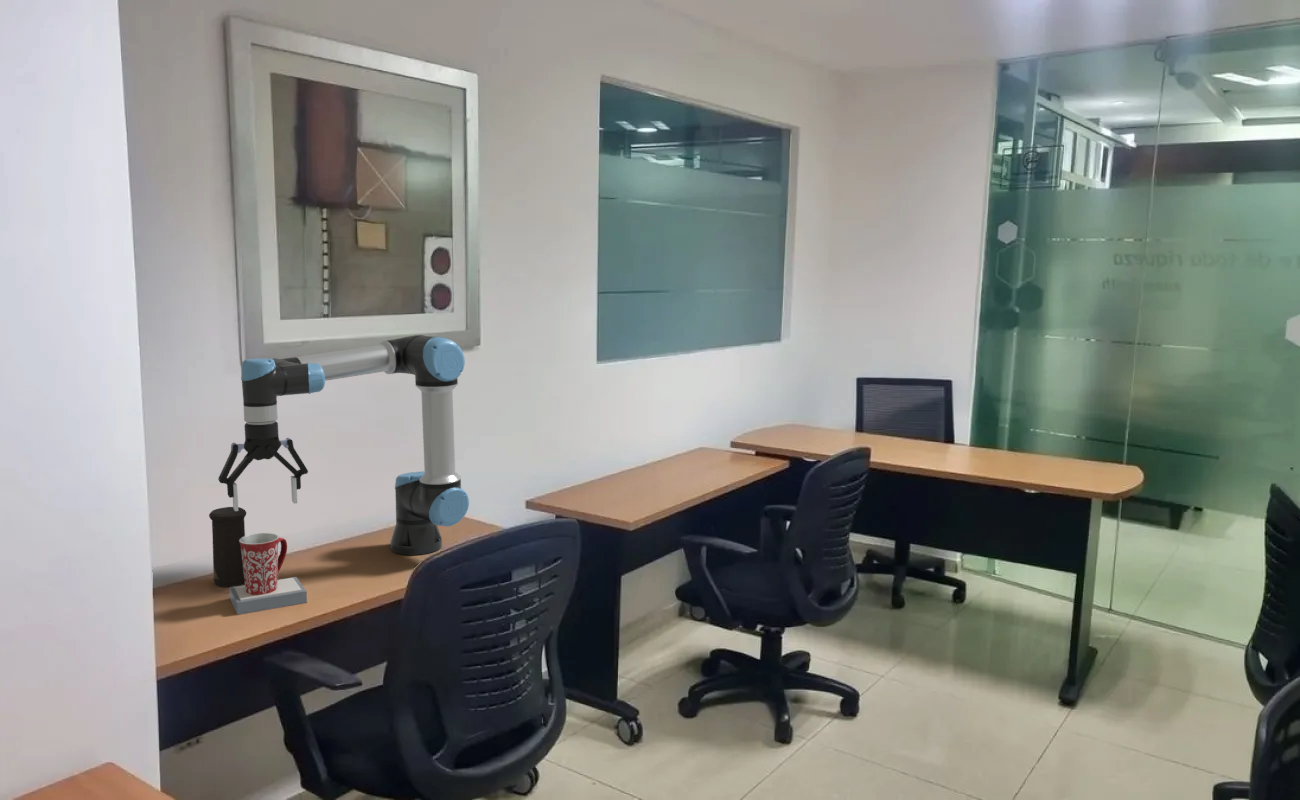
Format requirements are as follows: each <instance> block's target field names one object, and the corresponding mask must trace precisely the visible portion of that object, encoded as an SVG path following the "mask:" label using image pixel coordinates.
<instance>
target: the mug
mask: <svg viewBox="0 0 1300 800" xmlns="http://www.w3.org/2000/svg"><path fill="white" fill-rule="evenodd" d="M239 542H240V546H241V554H242V562H243V571H244V580H245V583H244V585H245V589H246V592H247V593H248V594H251V595H262V594H267V593H271V592H273V591H275V590H276V589H277V580H278V573H280V570H281V569H282V566H283V563H284V562H285V559H286V556H287V551H288V543H287V540H286V539H285V538H284V537H280V536H279V535H278V534H276V533H271V532H257V533H252V534H247V535H245V536H244V537H242V538H241V539H240V540H239ZM279 543H280V552H279Z"/></svg>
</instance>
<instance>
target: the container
mask: <svg viewBox="0 0 1300 800" xmlns="http://www.w3.org/2000/svg"><path fill="white" fill-rule="evenodd" d="M246 515H247V511H246V510H245V509H244V508H242V507H240V506H238V511H235V510H234V509H233V506H226V507H225V506H224V507H220V508H215V509H213V510H212V511H211V512H210V513H209V514H208V516H209V519H210V520H211V532H212V564H213V565H212V566H213V569H212V570H213V584H214V585H215V586H217V587H222V588H224V587H226V588H228V587H235V586H241V585H244V584H245V580H244V571H243V562H242V554H241V546H240V542H239V540H240V539H241V538H242V537H244V536H246V527H245V517H246Z"/></svg>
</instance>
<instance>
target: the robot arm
mask: <svg viewBox="0 0 1300 800" xmlns="http://www.w3.org/2000/svg"><path fill="white" fill-rule="evenodd" d="M465 359H466V358H465V355H464V352H463V350H462V348H461V347H460V346H459V344H457V343H456V342H455V341H453V340H451V339H449V338H445V337H441V336H440V337H439V336H433V335H432V336H431V335H422V334H415V335H409V336H403V337H400V338H394V339H388V340H383V341H381V342H380V344H379V345H378V344H377V345H372V346H364V347H357V348H350V349H343V350H336V351H328V352H321V353H315V354H309V355H307V354H306V355H302V356H301V355H300V356H295V357H288V358H277V357H275V358H269V357H268V358H267V357H256V358H248V359H247V358H246V359H244V360H243V361H242V363H241V372H240V373H241V375H240V380H241V388H242V400H243V421H244V422H245V424H244V426H243V427H244V438H245V439H244V443H236V442H232V443H231V446H230V453H229V455H228V457H227V459H226V461H225V463H224V466H223V468H222V469H221V472H220V474H219V476H218V479H217V480H218V481H219V483H220V484H225V485H226V489H227V495H228V497H229V498H232V507H233V509H234V510H235V511H238V507H239V501H238V500H239V499H238V498H239V497H238V485H237V479H238V478H239V477H240V476H241V475H242V473H243V472H244V471H245V469H246V468H247V467H248V466H249V465H250V464H251V463H252V462H253V461H254V460H255V461H261V460H271V459H273V458H275V459H276V460H277V461H278V462H280V463H281V464H282V465H283V466H284V467H285V468H286V469H288V470H289V472H290V473H292V474H293V475H291V476H290V486H291V487H290V488H291V490H290V491H291V501H292V502H293V503H292V504H298V492H297V491H298V490H301V488H302V483H301V482H302V481H301V480H302V479H301V478H302V476H304V475H307V474H308V472H309V470H308V469H307V467H306V465H305V464H304V462H303V459H302V458H301V457H300V456H299V454H298V452H297V451H296V449H295V448H294V441H293V439H291V438H290V437H287V438H285V439H282V440H280V437H279V436H280V435H279V422H277V421H278V401H277V399H278V397H282V396H283V397H284V396H289V395H291V396H292V395H294V396H295V395H301V394H302V395H304V394H308V395H310V394H314V393H320V392H321V391H323V390H324V388H325V385H326V381H332V380H339V379H340V380H341V379H344V378H345V379H346V378H351V377H352V378H353V377H357V376H363V375H371V374H377V373H383V372H384V373H385V374H386V375H393V374H406V375H407V374H408V375H414V379H415V387H416V388H418V389H419V390H420V392H421V415H422V417H421V418H422V439H423V442H422V443H423V465H424V466H423V467H424V471H423V470H422V471H415V472H406V473H402V474H399V475H398V476H397V477H396V478H395V484H394V489H395V525H394V526H395V527H394V529H393V532H392V535H391V538H390V551H392V552H393V553H395V554H400V555H404V556H405V555H406V556H407V555H408V556H409V555H410V556H415V555H427V554H430V553H431V554H432V553H434V552H437V551H439V550H441V548H442V547H443V538H442V535H441V532H440V529H439V527H438V526H441V527H453V526H454V525H457V524H458V523H460V522H461V521H462V520H463V518H464V517H465V516H466V515H467V512H468V510H469V506H470V498H469V495H468V493H466V491H465V490H464V489H463V488H462V481H461V479H462V478H461V476H460V475H459V474H458V472H456V457H455V455H456V454H455V431H454V430H455V429H454V428H455V426H454V400H453V390H454V389H455V388H456V387H457V386H459V385H458V384H459V383H458V381H459V380H458V378H459V377H460V376H461V374H462V372H463V371H464V368H465V363H466V360H465ZM281 446H283V447H284V448H285V449H287V450H288V453H289V454H290V455H291V458H292V459H293V460H294V462H295V463H296V465H297V466H298V469H296V468H295V467H294V465H292V464H291V462H289V461H288V460H287V459H285V458H284V456H282V455H281V454H280V453H279V452H278V451H279V449H280V448H281ZM242 450H245V452H246V455H244V456H243V459H242V460H241V462H240V463H238V465H237V466H236V468H235V469H234V470H233V471H232V473H231V474H230V475H229V473H230V472H231V470H232V467H233V465H234V463H235V461H236V459H237V456H238V454H240V453H241V452H242Z"/></svg>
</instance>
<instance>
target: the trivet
mask: <svg viewBox="0 0 1300 800" xmlns="http://www.w3.org/2000/svg"><path fill="white" fill-rule="evenodd" d="M307 594H308V593H307V590H306V588H305V587H304V586H303V584H302V583H301V582H300V579H299V578H298V577H297V576H293V577H287V578H281V579H279V578H278V579H277V589H276V590H275V591H273V592H271V593H267V594H262V595H251V594H248V593H247V592H246V589H245V584H241V585H236V586H230V587H229V600H230V601H231V604H232V606H233V608H234V611H235V612H236V615H237V616H239V615H243V614H250V613H255V612H256V613H257V612H260V611H261V612H262V611H266V610H272V609H279V608H285V607H290V606H295V605H301V604H306V603H308V597H307Z"/></svg>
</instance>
